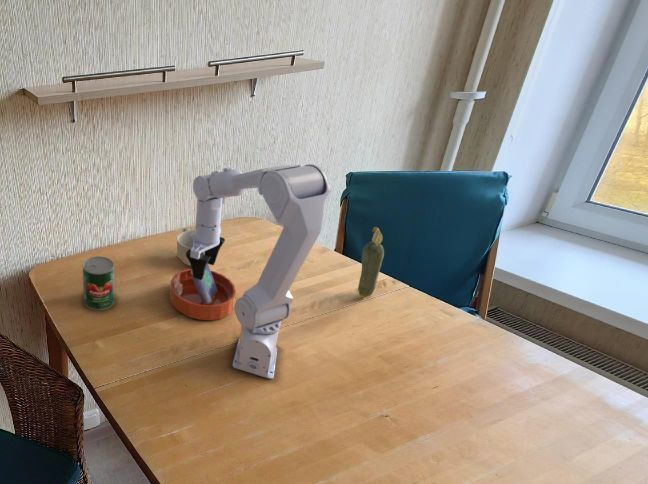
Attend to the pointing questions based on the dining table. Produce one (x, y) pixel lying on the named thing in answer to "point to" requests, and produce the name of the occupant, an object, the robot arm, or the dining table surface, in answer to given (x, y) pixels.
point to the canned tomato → (98, 283)
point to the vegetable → (371, 264)
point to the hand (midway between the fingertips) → (204, 270)
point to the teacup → (185, 244)
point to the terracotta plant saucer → (189, 299)
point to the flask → (205, 286)
